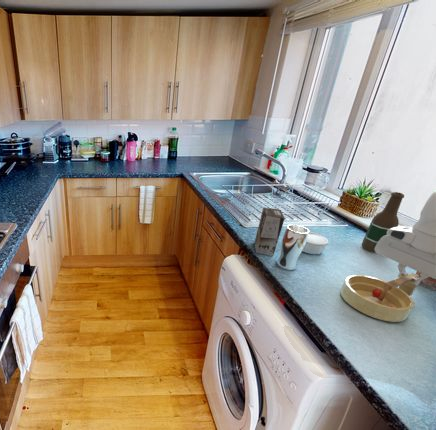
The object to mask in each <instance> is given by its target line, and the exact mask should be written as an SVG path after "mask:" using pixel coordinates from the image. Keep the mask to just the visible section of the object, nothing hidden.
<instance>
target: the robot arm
mask: <svg viewBox="0 0 436 430" xmlns="http://www.w3.org/2000/svg"><path fill="white" fill-rule="evenodd" d="M419 216H420V217H419V218H418V220H417V221H416V222H415V223H414V224H413V226H405V225H398V226H397V227H393V228H390V229H389V230H388V231H387V235H385V236H383V237H382V238H381V239H380V240H379V241H378V243H377V245H376V246H375V252H376V253H375V254H377V255H379V256H382V257H384V258H387V259H389V260H391V261H393V262H395V263H398V265H397V268H398V272H399V273H398V275H397V277H398V278H401V277H403V276H406V275H409V273H408V272H406V268H408V269H409V268H410V269H412V270H414V271H416V272H417V271H418V272H421V274H420V276H423V277H420V278H417V277H414V278H412V281H410V283H412V284H414V285H417V286H419V285H418V284H419V283H420V282H421V280H423V279H426V278H428V277H432V278H434V279H436V189H435V190H434V191H433V192H432V193H431V194H430V196H429V197H428V199H427V200H426V202H425V203H424V205H423V207H422V209H421V210H420V215H419Z"/></svg>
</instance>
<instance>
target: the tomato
mask: <svg viewBox="0 0 436 430" xmlns="http://www.w3.org/2000/svg"><path fill="white" fill-rule="evenodd" d="M381 293H382V291H381V290H379V289H375V290H373V292H372V294H373V296H375V297H377V298H379V297H380V295H381Z"/></svg>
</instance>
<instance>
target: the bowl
mask: <svg viewBox="0 0 436 430" xmlns="http://www.w3.org/2000/svg"><path fill="white" fill-rule="evenodd" d="M387 282H388V281H385V280H383V279H380V278H377V277H373V276H369V275H364V274H351V275H348V276H347V277H346V278H345V280H344V282H343V284H342V286H341V288H340V295H341V297H342V298H343V300H344V301H345V302H346V303H347V304H349V306H351V307H352V308H354V309H355V310H357V311H358V312H360V313H362V314H364V315H367V316H369V317H371V318H374V319H378V320H380V321H385V322H391V323H399V322H403V321H405V320H407V318H408V317H409V315H410V314H411V312H412V310H413V309H414V305H415V301H414V300H413V298H412V296H409V295H408V294H407V293H406V292H404V291H403V290H401V289H400V288H399V287H396V288H394V289H391V290H388V292H387V294H386V295H385V297H384V299H383V301H382V302H384V304H385V305H381V304H378V303H376V302H373V301H371V300H368V299H366V297H375V296H373V294H372V292H373V290H375V289H379V290H381V291H383V289H384V285H385V283H387ZM375 298H377V297H375ZM377 299H378V298H377ZM387 305H390V306H393V307H388V306H387ZM394 307H395V308H394Z"/></svg>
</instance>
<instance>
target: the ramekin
mask: <svg viewBox="0 0 436 430" xmlns="http://www.w3.org/2000/svg"><path fill="white" fill-rule="evenodd" d="M329 242H330V241H329V240H328V238H326V237H325V236H323V235H321V234H319V233H317V232H312V231H309V234H308V238H307V242H306V244H305V247H304V249H303V250H302V252H303V253H305V254H309V255H320V254H322V253H323V252H324V250H325V248H326V247H327V246H328V245H329Z"/></svg>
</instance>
